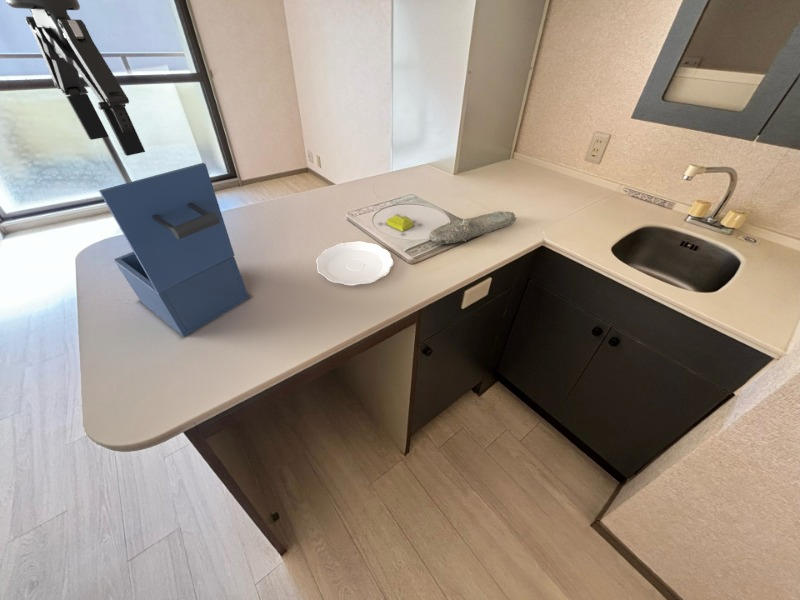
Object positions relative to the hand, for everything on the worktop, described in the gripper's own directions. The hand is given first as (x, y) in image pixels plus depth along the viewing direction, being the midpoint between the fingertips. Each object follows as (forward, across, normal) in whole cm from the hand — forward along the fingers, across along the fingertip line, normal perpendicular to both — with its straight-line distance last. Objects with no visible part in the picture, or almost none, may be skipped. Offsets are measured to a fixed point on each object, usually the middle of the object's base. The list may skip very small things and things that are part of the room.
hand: (116, 145), depth 55 cm
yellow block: (+35, -18, -62) cm, 73 cm away
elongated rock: (+35, -40, -73) cm, 90 cm away
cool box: (+35, 0, 0) cm, 35 cm away
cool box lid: (+12, -10, 0) cm, 16 cm away
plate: (+35, -22, -34) cm, 53 cm away
